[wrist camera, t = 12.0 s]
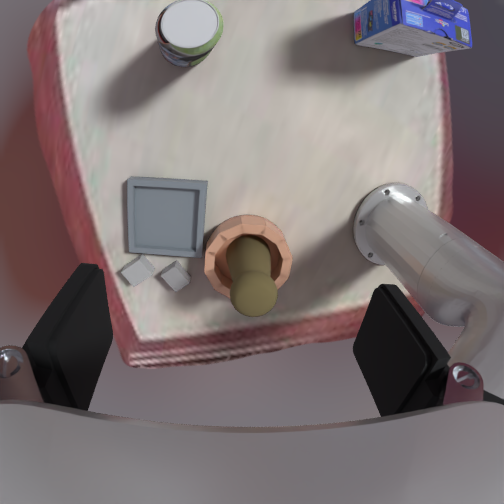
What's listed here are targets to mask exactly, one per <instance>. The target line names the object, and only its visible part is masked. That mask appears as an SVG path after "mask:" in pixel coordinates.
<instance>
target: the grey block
mask: <svg viewBox="0 0 504 504" xmlns="http://www.w3.org/2000/svg"><path fill="white" fill-rule="evenodd" d="M161 277H162V278H163V279H164V280H165V281H166V282H167V283H168V284H169V286H170V287H171V288H172V289H173V290H174V291H175V292H177V291H178V290H180V289H181V288H183V287H184V286H186V285H188V284H189V283H190V279H191V276H190V275H189V274H188V272H187V271H186V270H185V269H184V268H183V267H182V266H181V264H180V263H179V262H178V261H177V260H176V261H175V262H173V263H172V264H170V265H169V266H167V267H166V268H165V269H163V271H162V274H161Z"/></svg>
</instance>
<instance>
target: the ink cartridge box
mask: <svg viewBox="0 0 504 504" xmlns="http://www.w3.org/2000/svg"><path fill="white" fill-rule="evenodd" d="M354 41H355V44H356V45H360V46H366V47H372V48H378V49H383V50H388V51H393V52H398V53H402V54H407V55H411V56H415V57H418V56H423V55H428V54H434V53H440V52H446V51H453V50H460V49H468V48H472V39H471V30H470V21H469V14H468V10H467V9H466V8H463V7H462V4H460V3H458V2H456V1H454V0H371V1H369V2H368V3H366V4H365V5H363V6H362V7H361V8H359V9H358V10H356V11H355V12H354Z"/></svg>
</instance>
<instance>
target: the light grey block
mask: <svg viewBox="0 0 504 504" xmlns="http://www.w3.org/2000/svg"><path fill="white" fill-rule="evenodd" d="M154 269H155V267H154V266H153V265H152V264H151V263H150V261H149V260H148V259H147V258H146V257H145V255H144V254H143V253H142V254H141V255H139V256H138V257H136V258H135V259H134V260H132V261H131V262H129V263H128V264H126V265H125V266H124V268H123V270H122V272H121V273H122V274H123V275H124V277H125V278H126V279H127V280H128V281H129V282H130V283H131V285H132V286H133V287H135V286H136V285H138V284H139V283H141V282H142V281H144V280H145V279H147V278H148V277H150V276H152V274H153V272H154Z"/></svg>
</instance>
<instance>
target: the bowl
mask: <svg viewBox="0 0 504 504" xmlns="http://www.w3.org/2000/svg"><path fill="white" fill-rule="evenodd" d="M243 235H254V236H258V237H260V238H262V239H263V240H264V241H265V242H266V243H267V244H268V246H269V248H270V254H271V278H272V279H273V280H274V282H275V284H276V286H277V290H278V289H279V288H280V287H281V286H282V285H283V284H284V283H285V281H286V280H287V279H288V278H289V274H290V269H291V264H292V259H293V258H292V255H291V253H290V250H289V248H288V245H287V243H286V241H285V238H284V236H283V233H282V231H281V230H280V229H279V228H278V227H277V226H276V225H275V224H273V223H272V222H271V221H269V220H267V219H265V218H263V217H260V216H255V215H240V216H235V217H233V218H230V219H228V220H226V221H224V222H223V223H221V224H220V225H219V226H218V227H217V228H216V229H215V230H214V231H213V233H212V234H211V236H210V238H209V240H208V241H207V245H206V253H205V270H204V272H205V274H206V276H207V278H208V279H209V281H210V283H211V284H212V286H213V288H214V290H216V291H218V292H219V293H221V294H223V295H225V296H226V297H228V298H230V289H231V285H232V283H233V281H232V278H231V274H230V271H229V267H228V264H227V260H226V251H227V248H228V246H229V245H230V243H231V242H232V241H233V240H235V239H236V238H238V237H240V236H243Z"/></svg>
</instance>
